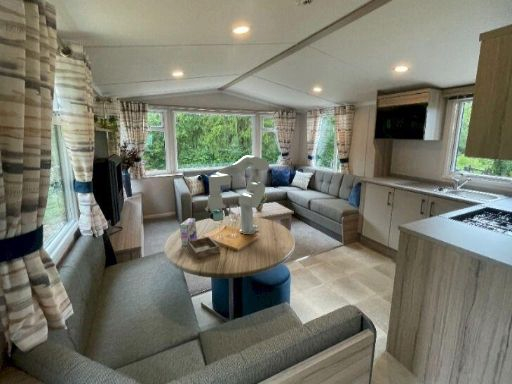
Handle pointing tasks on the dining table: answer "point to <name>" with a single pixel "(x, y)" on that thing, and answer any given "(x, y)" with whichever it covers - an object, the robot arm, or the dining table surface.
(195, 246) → the big crate
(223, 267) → the dining table surface
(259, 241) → the dining table surface
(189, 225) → the candy box
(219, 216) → the small crate
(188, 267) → the dining table surface
